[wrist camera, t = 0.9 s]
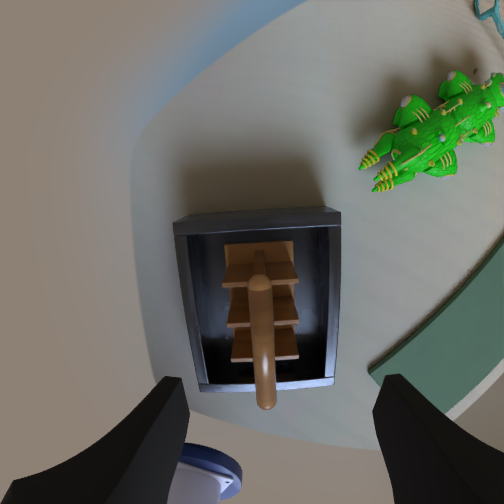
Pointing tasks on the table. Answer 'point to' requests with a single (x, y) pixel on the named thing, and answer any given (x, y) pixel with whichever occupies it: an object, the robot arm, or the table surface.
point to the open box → (218, 304)
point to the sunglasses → (495, 15)
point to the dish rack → (262, 309)
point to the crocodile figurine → (437, 130)
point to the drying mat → (455, 340)
